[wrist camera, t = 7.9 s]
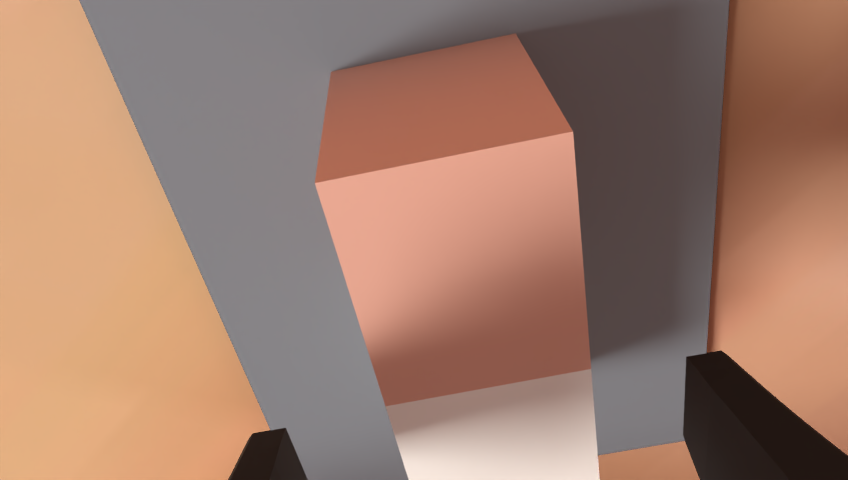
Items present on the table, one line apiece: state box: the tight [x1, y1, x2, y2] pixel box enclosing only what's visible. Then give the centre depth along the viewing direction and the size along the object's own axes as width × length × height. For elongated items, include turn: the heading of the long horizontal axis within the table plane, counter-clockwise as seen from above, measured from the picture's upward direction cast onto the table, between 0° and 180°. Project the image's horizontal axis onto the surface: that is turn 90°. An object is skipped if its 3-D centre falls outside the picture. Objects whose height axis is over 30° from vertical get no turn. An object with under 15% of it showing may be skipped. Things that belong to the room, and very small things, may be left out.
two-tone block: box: [315, 33, 600, 480], centre depth 15 cm, size 4×10×5 cm, turn 11°
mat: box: [79, 0, 729, 480], centre depth 18 cm, size 18×13×1 cm
